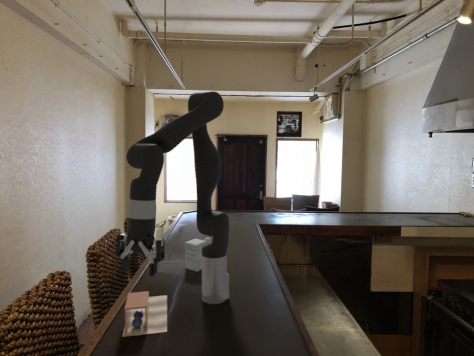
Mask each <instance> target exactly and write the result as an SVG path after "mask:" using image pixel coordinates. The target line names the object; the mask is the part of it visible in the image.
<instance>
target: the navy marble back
mask: <svg viewBox="0 0 474 356" xmlns="http://www.w3.org/2000/svg"><path fill="white" fill-rule="evenodd" d="M137 317H139V318H141V319H142V318H143V312H142V311H141V310H137V311H136V312H135V313H134V319H135V318H137Z"/></svg>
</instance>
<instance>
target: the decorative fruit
mask: <svg viewBox="0 0 474 356" xmlns="http://www.w3.org/2000/svg"><path fill="white" fill-rule="evenodd" d="M203 240H204V241H207V244H209V243H212V240H213V236H208V235H207V236H206V237H205V238H203Z"/></svg>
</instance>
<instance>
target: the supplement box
mask: <svg viewBox="0 0 474 356" xmlns="http://www.w3.org/2000/svg"><path fill="white" fill-rule="evenodd" d="M206 244H207V241H204V239H199V238H193V239H191V240H188V241H185V242H184V255H185V257H184V261H185V262H184V263H185V265H184V266H185V269H187V270H190V271H194V272H199V271H202V247H203V246H204V245H206Z"/></svg>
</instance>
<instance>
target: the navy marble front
mask: <svg viewBox="0 0 474 356" xmlns="http://www.w3.org/2000/svg"><path fill="white" fill-rule="evenodd" d="M132 325H133V327H135V328H139V327H140V326H141V325H142V319H141V318H139V317H137V318H135V319H134V320H133V322H132Z"/></svg>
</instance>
